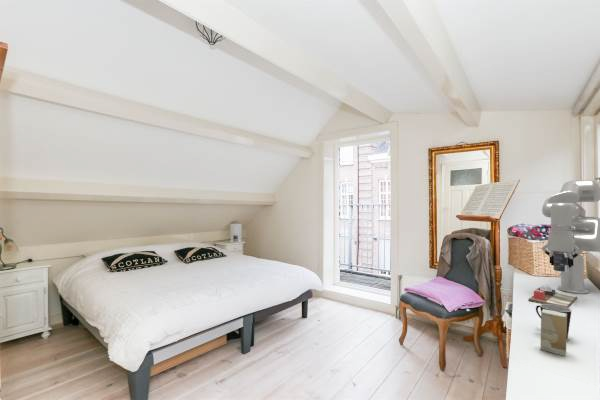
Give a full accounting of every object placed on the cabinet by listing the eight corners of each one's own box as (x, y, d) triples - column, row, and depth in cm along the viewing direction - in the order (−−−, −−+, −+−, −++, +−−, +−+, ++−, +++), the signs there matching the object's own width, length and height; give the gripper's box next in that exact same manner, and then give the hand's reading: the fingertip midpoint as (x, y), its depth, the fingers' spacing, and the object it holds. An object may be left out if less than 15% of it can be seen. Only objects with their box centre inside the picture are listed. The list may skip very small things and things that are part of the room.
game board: (541, 292, 166) (540, 286, 166) (577, 298, 155) (577, 292, 155) (528, 301, 150) (528, 294, 150) (567, 308, 139) (567, 302, 139)
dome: (541, 291, 163) (541, 283, 163) (552, 293, 159) (552, 285, 159) (538, 293, 160) (538, 284, 160) (550, 295, 156) (550, 286, 156)
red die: (535, 297, 154) (535, 288, 154) (545, 298, 151) (544, 290, 151) (533, 298, 151) (533, 290, 151) (543, 300, 148) (543, 291, 149)
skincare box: (540, 349, 100) (539, 311, 100) (542, 345, 103) (541, 308, 103) (566, 356, 95) (566, 316, 95) (567, 352, 98) (567, 313, 98)
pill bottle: (572, 272, 147) (572, 248, 147) (558, 272, 148) (557, 248, 148) (564, 269, 153) (564, 246, 153) (550, 269, 154) (550, 246, 154)
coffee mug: (576, 343, 105) (576, 313, 105) (545, 339, 107) (545, 310, 108) (561, 330, 115) (561, 303, 116) (533, 326, 118) (533, 300, 119)
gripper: (586, 229, 147) (586, 267, 146) (540, 227, 160) (541, 262, 159) (583, 230, 142) (584, 269, 141) (536, 228, 155) (537, 264, 154)
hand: (561, 265), depth 150 cm, fingers closed on pill bottle, 6 cm apart
